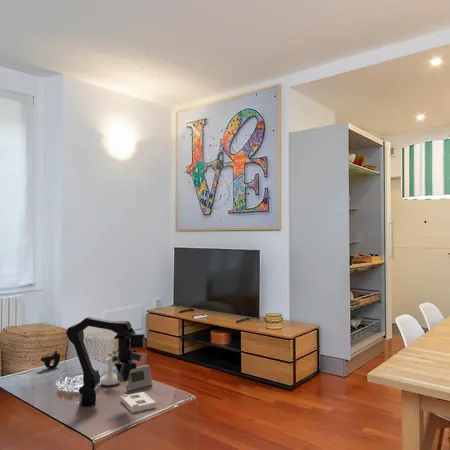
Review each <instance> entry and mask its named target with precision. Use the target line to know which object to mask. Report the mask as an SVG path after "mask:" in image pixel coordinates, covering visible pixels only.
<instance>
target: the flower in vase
mask: <svg viewBox="0 0 450 450" xmlns="http://www.w3.org/2000/svg"><path fill="white" fill-rule="evenodd" d="M112 342H113V345H114V346H113V347H114V348H113V350H112V353H108V355H107V356H108V357H107V358H106V359H105V360H106V362H107V365H108V366H107V373H105V374H104V375H103V376H101V378H100V379H101V380H102V381H101V383H100V384H101V385H102V386H114V385H117V384H120V381H118V380H117V373H115V372H113V367H114V366H113V365H114V362H112V357H113V356H114V355H118V352H117V349H118V339H114V338H113V340H112Z"/></svg>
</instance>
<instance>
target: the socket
mask: <svg viewBox="0 0 450 450" xmlns="http://www.w3.org/2000/svg"><path fill="white" fill-rule="evenodd" d="M120 402H121V403H122V405H124V407H126V408H127V409H128V411H130V412H131V413H137V412H142V411H145V410H146V411H147V410H151V409H155V407H156V404H157V403H156V401H155V400H154V399H152V398H151V397H150V396H149V395H148V394H147V393H145V392H144V391H141V392H136V393H131V394H127V393H125V394H122V395H121V396H120ZM156 408H157V407H156Z"/></svg>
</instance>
